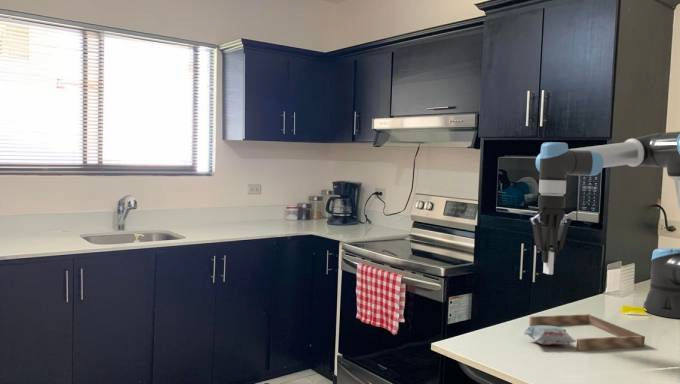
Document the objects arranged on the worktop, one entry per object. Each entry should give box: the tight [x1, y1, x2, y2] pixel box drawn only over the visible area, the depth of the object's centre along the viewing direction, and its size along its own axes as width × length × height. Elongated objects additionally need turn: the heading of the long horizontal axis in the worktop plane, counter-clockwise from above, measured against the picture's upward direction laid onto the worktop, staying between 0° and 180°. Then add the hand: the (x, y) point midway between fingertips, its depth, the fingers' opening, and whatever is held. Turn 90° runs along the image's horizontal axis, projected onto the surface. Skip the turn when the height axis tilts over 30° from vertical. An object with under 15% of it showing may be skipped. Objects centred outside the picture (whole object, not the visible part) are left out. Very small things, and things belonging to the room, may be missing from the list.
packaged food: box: [523, 325, 578, 346], centre depth 158 cm, size 9×12×5 cm
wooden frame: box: [528, 313, 646, 351], centre depth 168 cm, size 22×24×3 cm
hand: (548, 273), depth 164 cm, fingers closed
